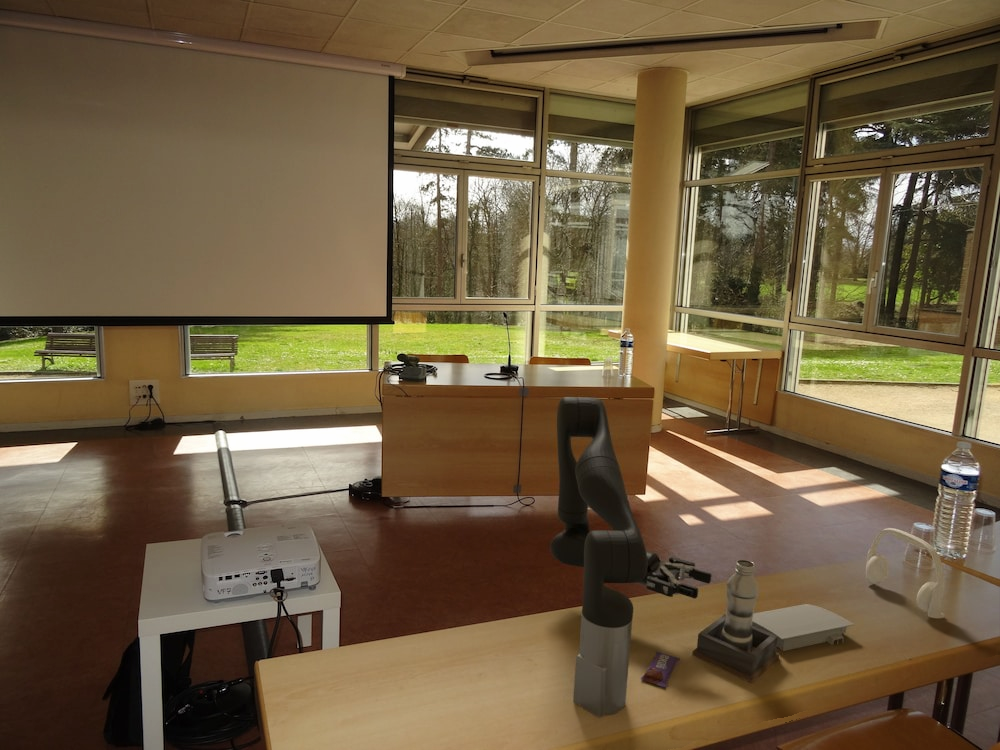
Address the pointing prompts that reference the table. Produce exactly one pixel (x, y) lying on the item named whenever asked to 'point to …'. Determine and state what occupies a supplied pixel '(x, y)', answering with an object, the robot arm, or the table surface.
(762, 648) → the open square tray
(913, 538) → the headset
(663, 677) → the snack package
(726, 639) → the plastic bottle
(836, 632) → the white router
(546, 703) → the table surface
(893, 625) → the table surface
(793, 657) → the table surface
